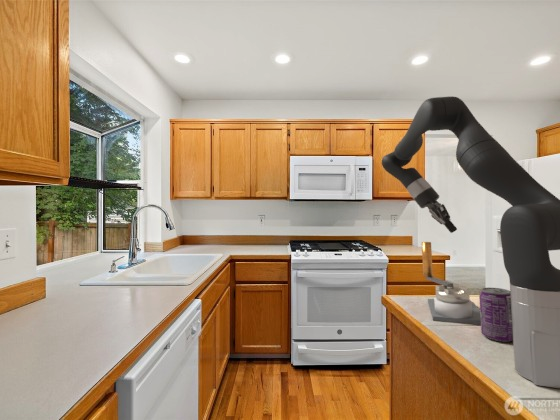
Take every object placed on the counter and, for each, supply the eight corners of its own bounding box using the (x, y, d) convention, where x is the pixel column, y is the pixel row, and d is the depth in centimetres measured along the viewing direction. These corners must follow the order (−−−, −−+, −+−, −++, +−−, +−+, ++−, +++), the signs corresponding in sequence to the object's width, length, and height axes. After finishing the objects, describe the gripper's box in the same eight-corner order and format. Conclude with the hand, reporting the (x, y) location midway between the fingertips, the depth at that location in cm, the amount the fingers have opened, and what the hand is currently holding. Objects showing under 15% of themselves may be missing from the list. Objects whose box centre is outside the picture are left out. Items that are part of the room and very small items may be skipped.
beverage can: (509, 334, 76) (506, 287, 77) (521, 345, 70) (518, 294, 70) (477, 331, 79) (475, 286, 79) (486, 342, 72) (483, 293, 72)
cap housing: (488, 325, 82) (487, 306, 83) (433, 320, 88) (432, 303, 88) (473, 305, 101) (472, 290, 101) (427, 302, 106) (427, 287, 106)
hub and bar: (476, 302, 86) (473, 246, 87) (447, 303, 86) (444, 247, 86) (438, 287, 105) (436, 241, 105) (414, 288, 104) (411, 242, 105)
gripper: (434, 181, 102) (469, 221, 96) (429, 192, 115) (459, 229, 108) (415, 193, 104) (448, 233, 97) (411, 203, 116) (441, 239, 109)
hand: (454, 231), depth 103 cm, fingers closed
